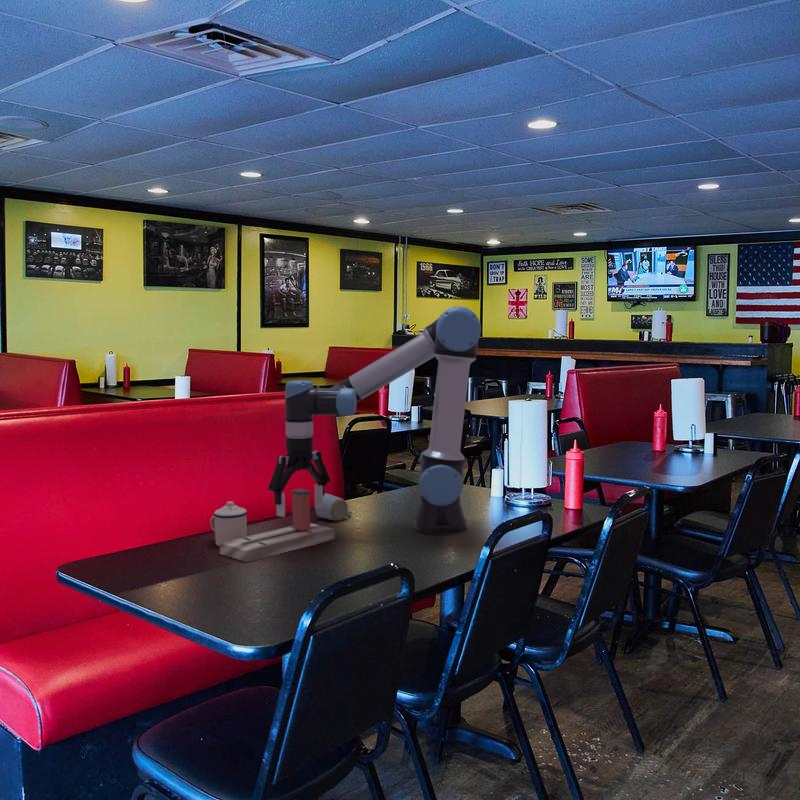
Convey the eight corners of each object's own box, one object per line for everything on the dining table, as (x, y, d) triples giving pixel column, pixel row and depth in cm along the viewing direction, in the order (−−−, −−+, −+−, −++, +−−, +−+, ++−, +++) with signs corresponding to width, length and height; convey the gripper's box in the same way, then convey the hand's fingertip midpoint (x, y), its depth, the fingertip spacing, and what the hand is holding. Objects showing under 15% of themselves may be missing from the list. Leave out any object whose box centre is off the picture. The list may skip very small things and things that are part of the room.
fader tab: (311, 528, 229) (310, 490, 228) (301, 531, 227) (300, 492, 226) (301, 526, 232) (300, 488, 231) (291, 528, 230) (290, 490, 229)
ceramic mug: (332, 523, 249) (331, 498, 248) (314, 519, 255) (314, 495, 254) (357, 518, 257) (357, 493, 256) (339, 514, 262) (339, 490, 262)
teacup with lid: (254, 541, 229) (253, 500, 228) (232, 549, 222) (230, 507, 221) (223, 536, 236) (221, 496, 235) (200, 543, 228) (198, 502, 227)
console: (334, 539, 230) (334, 528, 230) (246, 562, 209) (246, 550, 209) (307, 532, 239) (307, 521, 239) (219, 553, 217) (219, 542, 217)
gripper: (324, 431, 238) (325, 502, 240) (254, 439, 221) (255, 517, 223) (342, 433, 233) (342, 506, 235) (271, 442, 215) (272, 521, 217)
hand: (300, 511), depth 229 cm, fingers open, 13 cm apart
